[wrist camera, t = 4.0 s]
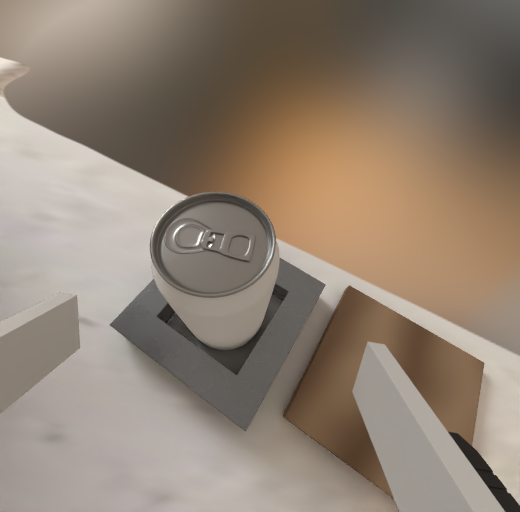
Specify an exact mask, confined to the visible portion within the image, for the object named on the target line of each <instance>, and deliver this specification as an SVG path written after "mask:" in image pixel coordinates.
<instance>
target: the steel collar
mask: <svg viewBox="0 0 520 512" xmlns="http://www.w3.org/2000/svg"><path fill="white" fill-rule="evenodd" d="M324 287H325V284H324V283H322V282H320V281H319V280H317V279H315V278H313V277H312V276H310V275H308V274H307V273H305V272H303V271H302V270H300V269H298V268H296V267H295V266H293V265H291V264H290V263H288V262H286V261H284V260H283V259H281V258H280V262H279V270H278V275H277V279H276V282H275V285H274V289H273V292H272V294H273V295H275V296H277V297H278V298H280V299H281V300H283V302H282V303H281V305H280V307H279V308H278V310H277V312H276V313H275V315H274V316H273V318H272V320H271V321H270V323H269V324H268V326H267V328H266V329H265V331H264V332H263V334H262V336H261V337H260V339H259V341H258V342H257V344H256V345H255V347H254V349H253V350H252V352H251V353H250V355H249V357H248V358H247V360H246V361H245V363H244V365H243V366H242V368H241V370H240V371H239V373H238V374H237V375H235V374H234V373H233V372H231V371H230V370H229V369H227V368H226V367H225V366H223V365H222V364H220V363H219V362H218V361H216V360H215V359H214V358H212V357H211V356H210V355H208V354H207V353H205V352H204V351H203V350H201V349H200V348H199V347H197V346H196V345H195V344H193V343H192V342H190V341H189V340H188V339H186V338H185V337H184V336H182V335H181V334H180V333H178V332H177V331H175V330H174V329H173V328H171V327H170V326H169V325H167V324H166V322H167V321H168V320H169V319H170V318H171V317H172V315H173V314H174V313H175V311H174V310H173V309H172V307H171V306H170V305H169V303H168V302H167V301H166V300H165V298H164V297H163V295H162V294H161V292H160V291H159V289H158V287H157V285H156V283H155V280H154V279H153V280H152V281H151V282H150V283H149V284H148V285H147V287H146V288H145V289H144V290H143V291H142V292H141V293H140V294H139V295H138V296H137V297H136V298H135V299H134V300H133V301H132V302H131V303H130V304H129V305H128V306H127V307H126V309H125V310H124V311H123V312H122V313H121V314H120V315H119V316H118V317H117V318H116V319H115V320H114V321H113V322H112V323H111V324H110V326H112V327H113V328H114V329H115V330H117V331H118V332H119V333H121V334H122V335H123V336H124V337H126V338H127V339H128V340H129V341H131V342H132V343H133V344H135V345H136V346H137V347H138V348H140V349H141V350H142V351H144V352H145V353H146V354H147V355H149V356H150V357H151V358H152V359H154V360H155V361H156V362H158V363H159V364H160V365H161V366H163V367H164V368H165V369H167V370H168V371H169V372H170V373H172V374H173V375H174V376H175V377H177V378H178V379H179V380H181V381H182V382H183V383H184V384H186V385H187V386H188V387H190V388H191V389H192V390H193V391H195V392H196V393H197V394H198V395H200V396H201V397H202V398H204V399H205V400H206V401H207V402H209V403H210V404H211V405H212V406H214V407H215V408H216V409H218V410H219V411H220V412H221V413H223V414H224V415H225V416H227V417H228V418H229V419H230V420H232V421H233V422H234V423H235V424H237V425H238V426H239V427H241V428H242V429H243V430H244V431H246V430H247V428H248V426H249V424H250V423H251V421H252V419H253V417H254V415H255V413H256V412H257V410H258V408H259V406H260V404H261V402H262V401H263V399H264V397H265V395H266V393H267V391H268V390H269V388H270V386H271V384H272V382H273V380H274V379H275V377H276V375H277V373H278V371H279V369H280V368H281V366H282V364H283V362H284V360H285V358H286V357H287V355H288V353H289V351H290V349H291V347H292V346H293V344H294V342H295V340H296V338H297V336H298V335H299V333H300V331H301V329H302V327H303V325H304V324H305V322H306V320H307V318H308V316H309V314H310V313H311V311H312V309H313V307H314V305H315V303H316V302H317V300H318V298H319V296H320V294H321V292H322V291H323V289H324Z"/></svg>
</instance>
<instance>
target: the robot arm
mask: <svg viewBox="0 0 520 512" xmlns="http://www.w3.org/2000/svg"><path fill="white" fill-rule="evenodd" d="M79 348H80V340H79V322H78V305H77V295H72V294H66V293H58V294H56V295H54V296H52V297H50V298H48V299H46V300H44V301H42V302H40V303H38V304H36V305H34V306H32V307H30V308H28V309H26V310H24V311H22V312H20V313H18V314H15V315H13V316H11V317H9V318H7V319H5V320H3V321H1V322H0V413H2V412H3V411H4V410H5V409H6V408H8V407H9V406H10V405H11V404H13V403H14V402H15V401H16V400H17V399H19V398H20V397H21V396H22V395H23V394H25V393H26V392H27V391H28V390H29V389H31V388H32V387H33V386H34V385H35V384H37V383H38V382H39V381H40V380H42V379H43V378H44V377H45V376H46V375H48V374H49V373H50V372H51V371H52V370H54V369H55V368H56V367H57V366H58V365H60V364H61V363H62V362H63V361H65V360H66V359H67V358H68V357H69V356H71V355H72V354H73V353H74V352H75V351H77V350H78V349H79ZM352 392H353V395H354V398H355V400H356V403H357V405H358V408H359V410H360V413H361V415H362V418H363V420H364V423H365V426H366V428H367V431H368V433H369V436H370V438H371V441H372V443H373V446H374V449H375V451H376V454H377V456H378V459H379V461H380V464H381V466H382V469H383V471H384V474H385V477H386V479H387V482H388V484H389V487H390V489H391V492H392V494H393V497H394V500H395V502H396V505H397V507H398V510H399V512H520V505H519V504H518V503H517V502H516V500H515V499H514V498H513V496H512V495H511V494H510V493H507V490H506V488H505V486H504V485H503V484H502V482H501V481H500V480H499V479H498V477H497V476H496V475H494V474H493V471H492V470H491V468H490V467H489V466H488V464H487V463H486V462H485V461H484V459H483V458H482V457H481V455H480V454H479V453H478V452H477V450H475V449H474V448H473V447H472V446H471V445H470V444H469V443H468V442H467V441H466V440H464V439H463V438H462V437H461V436H460V435H459V434H458V433H453V432H447V430H446V429H445V427H444V426H443V425H442V423H441V422H440V420H439V419H438V418H437V416H436V415H435V413H434V412H433V411H432V409H431V408H430V407H429V405H428V404H427V402H426V401H425V400H424V398H423V397H422V395H421V394H420V393H419V391H418V390H417V388H416V387H415V386H414V384H413V383H412V382H411V380H410V379H409V377H408V376H407V375H406V373H405V372H404V370H403V369H402V368H401V366H400V365H399V363H398V362H397V361H396V359H395V358H394V357H393V355H392V354H391V352H390V351H389V350H388V348H387V347H386V345H385V344H380V343H373V342H367V345H366V348H365V352H364V355H363V358H362V361H361V365H360V368H359V371H358V374H357V378H356V381H355V384H354V387H353V391H352Z"/></svg>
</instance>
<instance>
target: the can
mask: <svg viewBox="0 0 520 512" xmlns="http://www.w3.org/2000/svg"><path fill="white" fill-rule="evenodd" d="M150 254H151V258H152V273H153V277H154V280H155V283H156V285H157V287H158V289H159V291H160V292H161V294H162V295H163V297H164V298H165V300H166V301H167V302H168V303H169V305H170V306H171V307H172V309H173V310H174V311H175V312H176V314H177V315H178V316H179V317H180V319H181V320H182V321H183V322H184V323H185V325H186V326H187V327H188V328H189V330H190V331H191V332H192V333H193V334H194V335H195V337H196V338H197V339H198V340H199V341H200V342H202V343H203V344H204V345H206V346H208V347H210V348H213V349H217V350H232V349H236V348H239V347H241V346H243V345H245V344H247V343H248V342H249V341H250V340H252V339H253V338H254V336H255V335H256V334H257V332H258V331H259V329H260V327H261V325H262V322H263V319H264V317H265V314H266V311H267V308H268V304H269V301H270V298H271V295H272V292H273V289H274V285H275V282H276V279H277V275H278V270H279V262H280V255H279V248H278V245H277V242H276V236H275V231H274V228H273V225H272V223H271V221H270V219H269V218H268V216H267V215H266V214H265V212H264V211H263V210H262V209H261V208H260V207H258V206H257V205H256V204H255V203H253V202H252V201H250V200H248V199H246V198H244V197H242V196H239V195H236V194H232V193H226V192H205V193H199V194H196V195H193V196H189V197H187V198H185V199H183V200H181V201H179V202H177V203H176V204H174V205H173V206H171V207H170V208H169V209H168V210H167V211H166V212H165V213H164V214H163V215H162V216H161V217H160V219H159V220H158V222H157V223H156V225H155V227H154V229H153V232H152V235H151V240H150Z"/></svg>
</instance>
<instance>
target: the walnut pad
mask: <svg viewBox="0 0 520 512" xmlns="http://www.w3.org/2000/svg"><path fill="white" fill-rule="evenodd" d="M367 342H373V343H380V344H385V345H386V347H387V348H388V350H389V351H390V352H391V354H392V355H393V357H394V358H395V359H396V361H397V362H398V363H399V365H400V366H401V368H402V369H403V370H404V372H405V373H406V375H407V376H408V377H409V379H410V380H411V382H412V383H413V384H414V386H415V387H416V388H417V390H418V391H419V393H420V394H421V395H422V397H423V398H424V400H425V401H426V402H427V404H428V405H429V407H430V408H431V409H432V411H433V412H434V413H435V415H436V416H437V418H438V419H439V420H440V422H441V423H442V425H443V426H444V427H445V429H446V430H447V432H453V433H458V434H459V435H460V436H461V437H462V438H463V439H464V440H466V441H467V442H468V443H469V444H470V445H471V446H472V441H473V435H474V428H475V421H476V415H477V408H478V401H479V395H480V388H481V382H482V375H483V368H484V362H482V361H480V360H478V359H477V358H475V357H473V356H471V355H470V354H468V353H466V352H464V351H463V350H461V349H459V348H457V347H456V346H454V345H452V344H451V343H449V342H447V341H445V340H444V339H442V338H440V337H438V336H437V335H435V334H433V333H431V332H430V331H428V330H426V329H424V328H423V327H421V326H419V325H417V324H416V323H414V322H412V321H410V320H409V319H407V318H405V317H403V316H402V315H400V314H398V313H396V312H395V311H393V310H391V309H390V308H388V307H386V306H384V305H383V304H381V303H379V302H377V301H376V300H374V299H372V298H370V297H369V296H367V295H365V294H363V293H362V292H360V291H358V290H356V289H355V288H353V287H351V286H348V287H347V288H346V289H345V291H344V293H343V295H342V297H341V299H340V301H339V303H338V305H337V307H336V309H335V312H334V314H333V316H332V318H331V320H330V322H329V324H328V326H327V328H326V330H325V332H324V334H323V336H322V338H321V340H320V342H319V344H318V346H317V348H316V350H315V352H314V354H313V356H312V358H311V360H310V362H309V364H308V366H307V368H306V370H305V372H304V374H303V376H302V378H301V380H300V382H299V384H298V386H297V388H296V390H295V392H294V394H293V396H292V398H291V400H290V403H289V405H288V407H287V409H286V411H285V413H284V415H283V417H284V418H286V419H287V420H288V421H290V422H291V423H292V424H294V425H295V426H297V427H298V428H299V429H301V430H302V431H303V432H305V433H306V434H307V435H309V436H310V437H311V438H313V439H314V440H315V441H317V442H318V443H320V444H321V445H322V446H324V447H325V448H326V449H328V450H329V451H330V452H332V453H333V454H334V455H336V456H337V457H338V458H340V459H341V460H342V461H344V462H345V463H347V464H348V465H349V466H351V467H352V468H353V469H355V470H356V471H357V472H359V473H360V474H361V475H363V476H364V477H365V478H367V479H368V480H370V481H371V482H372V483H374V484H375V485H376V486H378V487H379V488H380V489H382V490H383V491H384V492H386V493H387V494H388V495H390V496H391V497H393V494H392V492H391V489H390V487H389V484H388V482H387V479H386V477H385V474H384V471H383V469H382V466H381V464H380V461H379V459H378V456H377V454H376V451H375V449H374V446H373V443H372V441H371V438H370V436H369V433H368V431H367V428H366V426H365V423H364V420H363V418H362V415H361V413H360V410H359V408H358V405H357V403H356V400H355V398H354V395H353V392H352V391H353V387H354V384H355V381H356V378H357V374H358V371H359V368H360V365H361V361H362V358H363V355H364V352H365V348H366V345H367ZM393 498H394V497H393Z"/></svg>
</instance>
